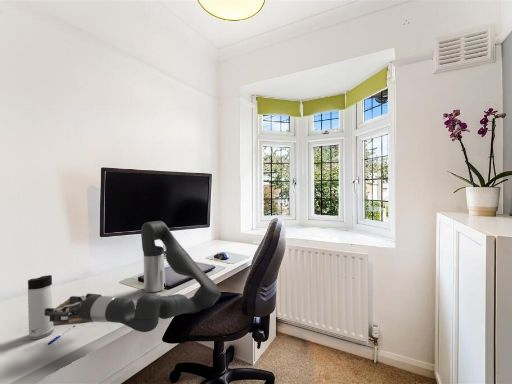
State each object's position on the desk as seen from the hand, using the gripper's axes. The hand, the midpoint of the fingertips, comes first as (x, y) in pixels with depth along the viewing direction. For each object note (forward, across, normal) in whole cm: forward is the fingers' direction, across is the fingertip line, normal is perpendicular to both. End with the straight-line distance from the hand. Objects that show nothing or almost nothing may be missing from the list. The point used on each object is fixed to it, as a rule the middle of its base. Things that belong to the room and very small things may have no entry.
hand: (58, 305), depth 82 cm
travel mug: (+8, 0, -11) cm, 13 cm away
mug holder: (+9, +15, -11) cm, 20 cm away
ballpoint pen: (+1, +2, -11) cm, 11 cm away
